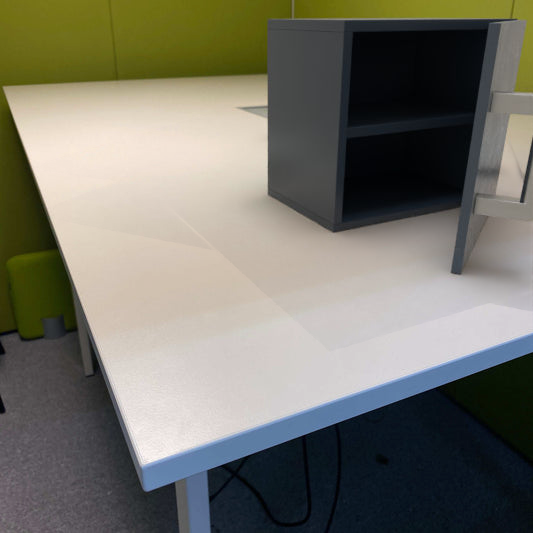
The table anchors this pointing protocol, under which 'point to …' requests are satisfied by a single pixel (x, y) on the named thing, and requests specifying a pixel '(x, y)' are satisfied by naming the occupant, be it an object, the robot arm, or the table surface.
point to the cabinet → (372, 115)
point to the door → (494, 141)
